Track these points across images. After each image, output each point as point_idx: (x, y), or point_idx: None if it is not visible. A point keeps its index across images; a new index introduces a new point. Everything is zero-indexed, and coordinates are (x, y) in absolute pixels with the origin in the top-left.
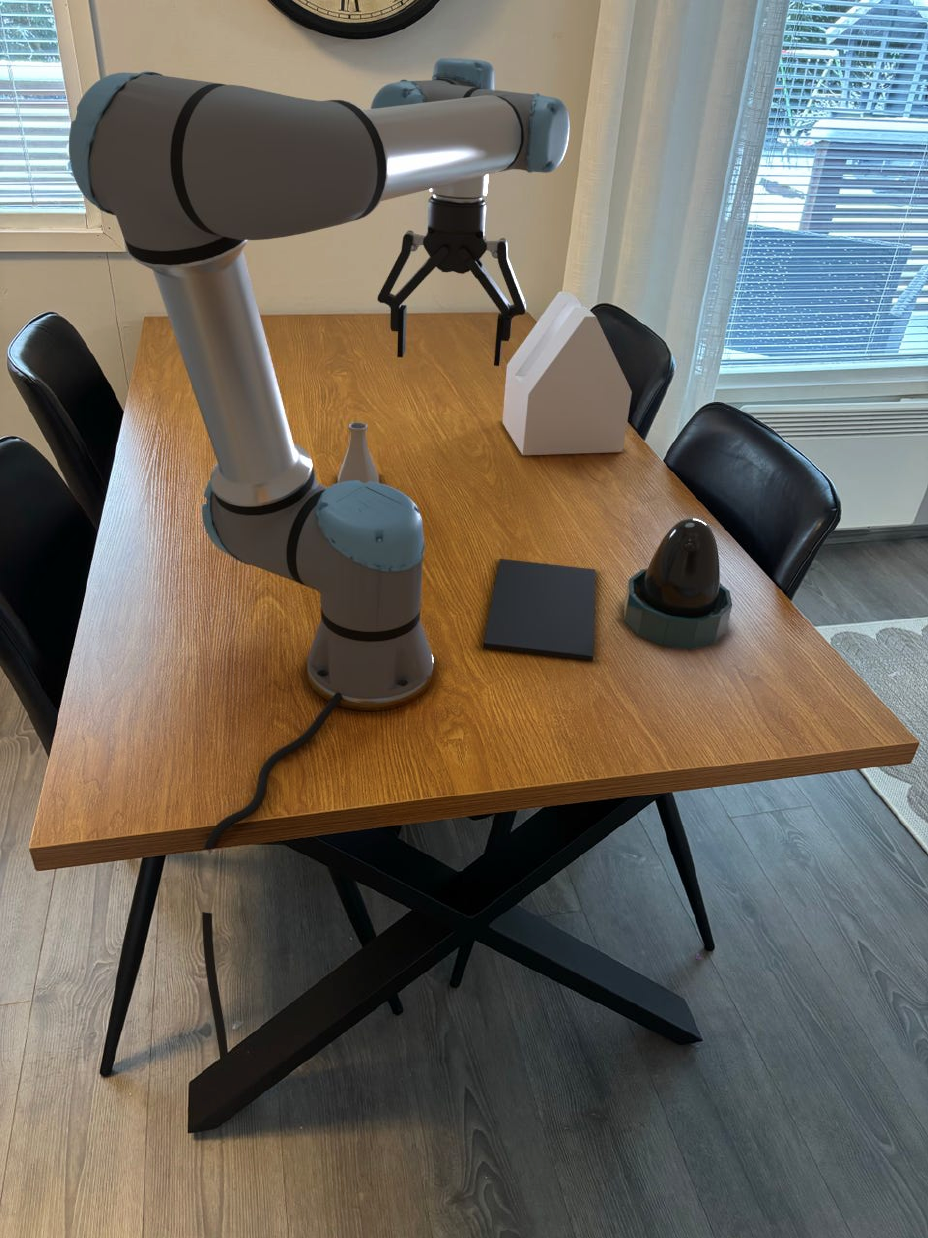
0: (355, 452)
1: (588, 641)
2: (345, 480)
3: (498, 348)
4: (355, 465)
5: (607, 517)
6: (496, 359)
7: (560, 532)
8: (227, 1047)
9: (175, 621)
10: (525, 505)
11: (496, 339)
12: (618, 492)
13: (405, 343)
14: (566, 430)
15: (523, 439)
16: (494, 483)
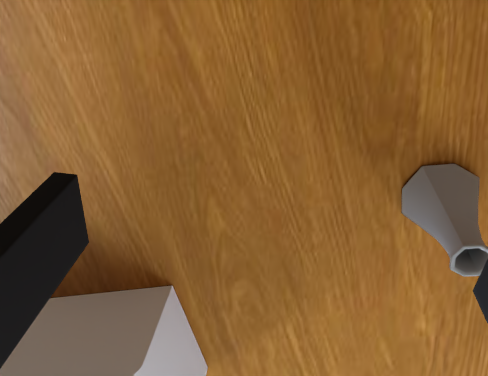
0: (464, 214)
1: None
2: (469, 178)
3: (17, 216)
4: (458, 195)
5: (21, 107)
6: (53, 188)
7: (85, 44)
8: None
9: None
10: (153, 135)
11: (4, 248)
12: (21, 188)
13: (486, 317)
14: (100, 319)
15: (166, 305)
16: (208, 202)
